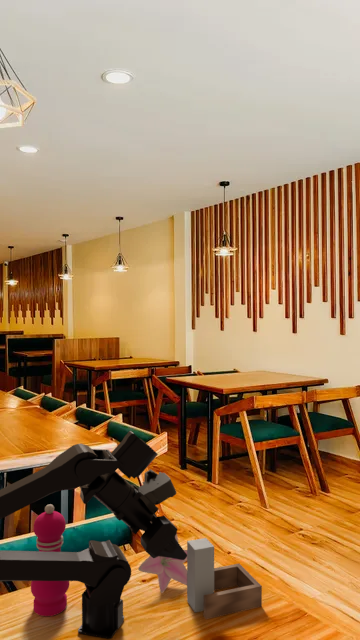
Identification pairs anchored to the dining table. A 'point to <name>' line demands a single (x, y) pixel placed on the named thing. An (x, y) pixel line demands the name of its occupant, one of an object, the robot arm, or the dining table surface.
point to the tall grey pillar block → (199, 572)
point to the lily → (166, 569)
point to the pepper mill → (49, 539)
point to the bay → (232, 592)
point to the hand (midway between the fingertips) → (176, 546)
